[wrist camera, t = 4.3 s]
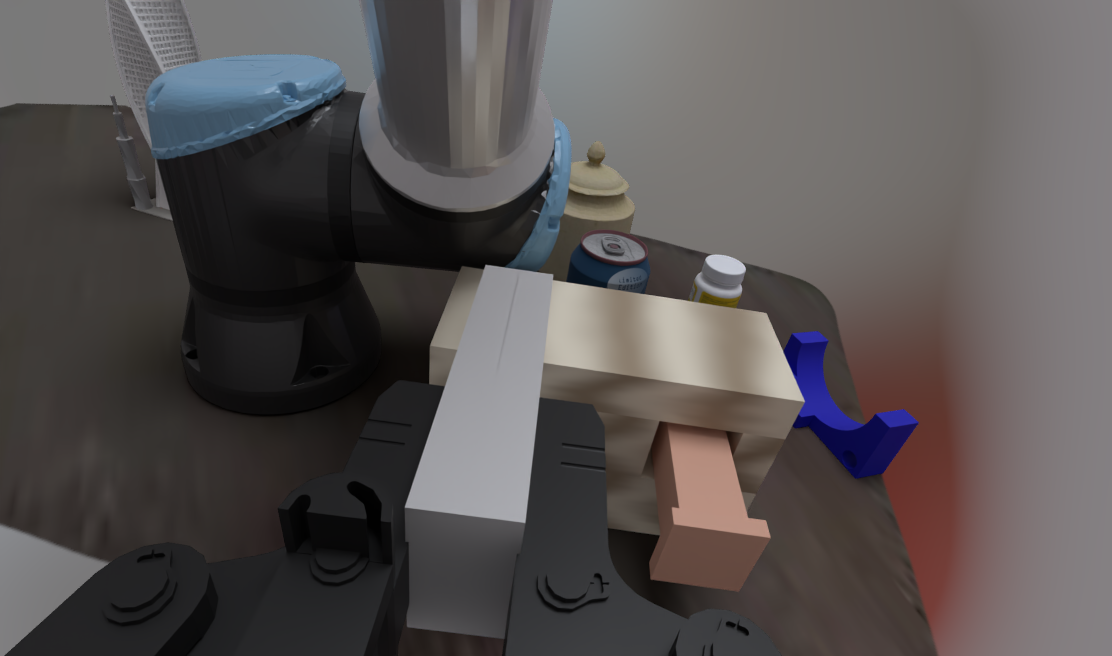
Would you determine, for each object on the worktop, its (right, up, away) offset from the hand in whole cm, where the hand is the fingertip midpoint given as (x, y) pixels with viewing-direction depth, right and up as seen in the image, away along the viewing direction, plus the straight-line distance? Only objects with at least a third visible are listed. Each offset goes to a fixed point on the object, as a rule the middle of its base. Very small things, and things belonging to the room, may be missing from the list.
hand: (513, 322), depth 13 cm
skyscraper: (-42, +14, +55) cm, 71 cm away
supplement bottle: (+16, -1, +48) cm, 51 cm away
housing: (+3, -11, +30) cm, 32 cm away
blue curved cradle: (+24, -9, +39) cm, 46 cm away
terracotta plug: (+9, -10, +23) cm, 26 cm away
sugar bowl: (+1, +8, +57) cm, 57 cm away
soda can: (+4, -3, +42) cm, 42 cm away
